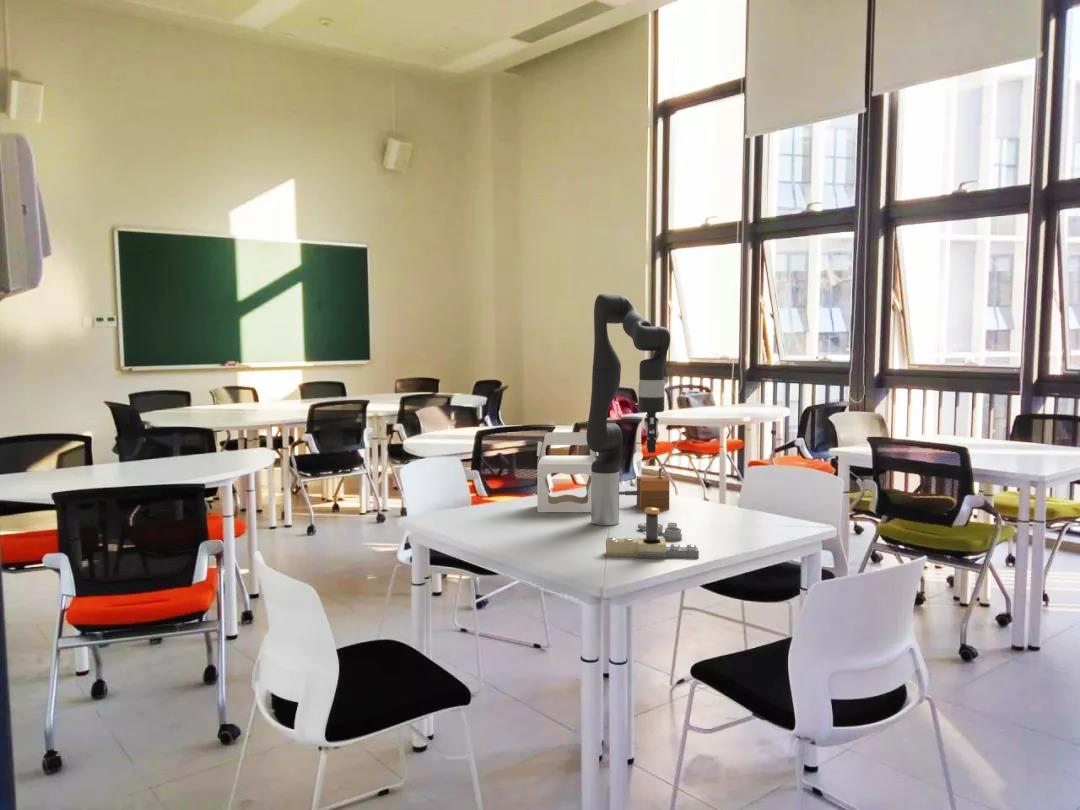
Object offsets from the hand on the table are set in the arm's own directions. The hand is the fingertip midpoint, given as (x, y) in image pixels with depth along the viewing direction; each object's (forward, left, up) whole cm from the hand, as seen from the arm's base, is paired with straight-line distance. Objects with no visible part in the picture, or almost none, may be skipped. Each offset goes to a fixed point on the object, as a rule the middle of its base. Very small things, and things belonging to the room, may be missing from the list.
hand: (651, 450), depth 235 cm
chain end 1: (+11, -4, -28) cm, 31 cm away
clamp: (-58, -2, -28) cm, 64 cm away
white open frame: (-52, -28, -28) cm, 66 cm away
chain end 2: (+11, +5, -28) cm, 31 cm away
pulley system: (-10, +3, -29) cm, 31 cm away
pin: (+11, 0, -28) cm, 30 cm away
